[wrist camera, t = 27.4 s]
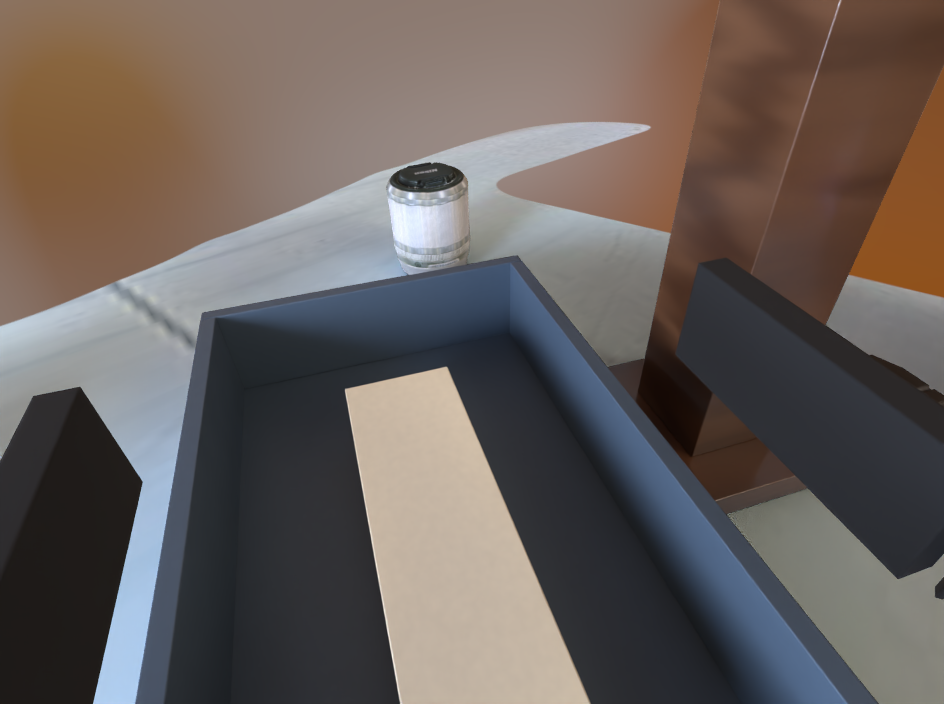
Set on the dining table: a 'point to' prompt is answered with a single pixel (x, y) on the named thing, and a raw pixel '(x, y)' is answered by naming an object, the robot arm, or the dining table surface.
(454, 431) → the carton
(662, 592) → the bin
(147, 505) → the dining table surface
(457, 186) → the camera lens
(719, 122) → the stand
